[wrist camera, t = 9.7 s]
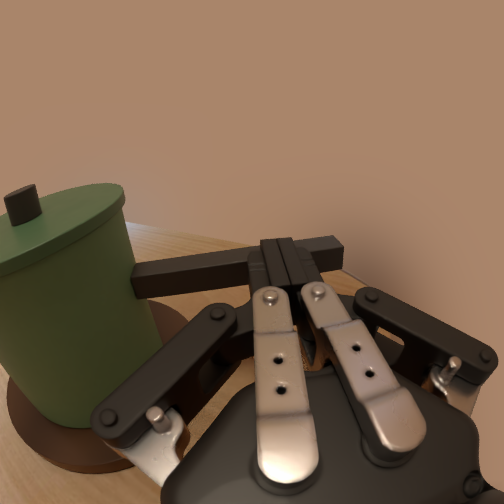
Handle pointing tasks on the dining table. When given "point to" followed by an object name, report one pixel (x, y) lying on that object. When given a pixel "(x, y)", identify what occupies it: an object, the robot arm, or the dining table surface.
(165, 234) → the dining table surface
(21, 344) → the pot
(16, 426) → the disc
